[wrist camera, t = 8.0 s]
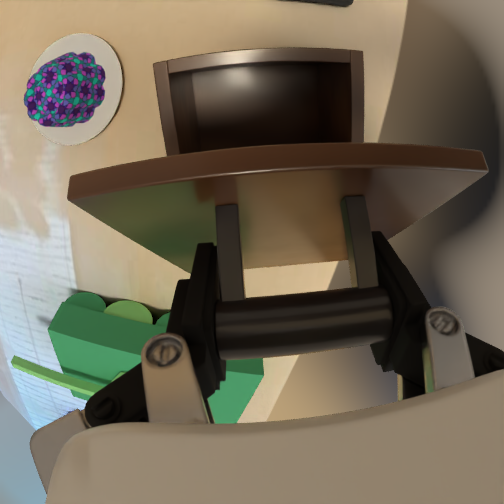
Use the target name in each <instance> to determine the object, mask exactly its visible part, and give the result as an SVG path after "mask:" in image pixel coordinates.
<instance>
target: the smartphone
mask: <svg viewBox="0 0 504 504" xmlns="http://www.w3.org/2000/svg"><path fill="white" fill-rule="evenodd" d="M293 1H304V2H313V3H321V4H329V5H335V6H342V7H346V6H349V5H351V4H352V3H353V0H293Z"/></svg>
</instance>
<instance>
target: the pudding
mask: <svg viewBox="0 0 504 504" xmlns="http://www.w3.org/2000/svg"><path fill="white" fill-rule="evenodd" d="M121 92H122V71H121V66H120V62H119V60H118V58H117V55H116V53H115V52H114V50H113V49H112V47H111V46H110V45H109V44H108V43H107V42H105V41H104V40H103V39H101V38H99V37H98V36H95V35H92V34H87V33H76V34H71V35H67V36H64V37H62V38H60V39H58V40H57V41H55V42H54V43H52V44H51V45H50V46H49V47H47V48H46V50H45V51H44V52H43V53H42V54H41V55H40V57H39V58H38V59H37V61H36V63H35V65H34V67H33V69H32V71H31V74H30V76H29V80H28V83H27V91H26V93H25V95H24V104H25V106H26V107H27V108H28V115H29V117H30V118H31V120H32V122H33V124H34V126H35V127H36V129H37V130H38V131H39V132H40V133H41V134H42V135H43V136H44V137H45V138H47V139H48V140H50V141H52V142H54V143H56V144H60V145H70V146H72V145H78V144H81V143H84V142H87V141H89V140H90V139H92V138H94V137H95V136H97V135H98V134H99V133H100V132H101V131H102V130H103V129H104V128H105V127H106V126H107V125H108V123H109V122H110V120H111V119H112V117H113V115H114V114H115V111H116V109H117V107H118V104H119V101H120V97H121Z"/></svg>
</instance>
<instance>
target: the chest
mask: <svg viewBox="0 0 504 504" xmlns="http://www.w3.org/2000/svg"><path fill="white" fill-rule="evenodd" d="M153 68H154V76H155V84H156V91H157V98H158V105H159V111H160V118H161V124H162V130H163V136H164V142H165V148H166V153H167V156H173V155H180V154H187V153H195V152H203V151H211V150H220V149H230V148H240V147H251V146H264V145H280V144H300V143H341V142H355V143H363V141H364V61H363V51H358V50H346V49H331V48H261V49H245V50H234V51H224V52H215V53H208V54H201V55H194V56H188V57H182V58H176V59H171V60H167V61H161V62H157V63H153Z"/></svg>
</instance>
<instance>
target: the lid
mask: <svg viewBox="0 0 504 504" xmlns="http://www.w3.org/2000/svg"><path fill="white" fill-rule="evenodd" d="M486 173H488V168H487V164H486V162H485V159H484V156H483V153H482V152H481V151H477V150H470V149H460V148H451V147H441V146H429V145H414V144H395V143H355V142H341V143H300V144H280V145H264V146H251V147H240V148H230V149H220V150H211V151H203V152H195V153H187V154H180V155H173V156H167V157H161V158H154V159H148V160H143V161H137V162H132V163H126V164H121V165H116V166H111V167H107V168H102V169H97V170H93V171H88V172H84V173H80V174H76V175H72V176H71V177H70V180H69V187H68V194H67V199H68V201H70V202H72V203H73V204H75V205H76V206H78V207H79V208H81V209H83V210H84V211H86V212H87V213H89V214H90V215H92V216H94V217H95V218H97V219H98V220H100V221H102V222H103V223H105V224H107V225H108V226H110V227H111V228H113V229H115V230H116V231H118V232H120V233H121V234H123V235H125V236H126V237H128V238H130V239H131V240H133V241H135V242H136V243H138V244H140V245H141V246H143V247H145V248H146V249H148V250H150V251H152V252H153V253H155V254H157V255H158V256H160V257H162V258H164V259H165V260H167V261H169V262H171V263H172V264H174V265H176V266H178V267H179V268H181V269H183V270H185V271H186V272H188V273H191V271H192V266H193V262H194V257H195V253H196V248H197V244H198V243H207V242H213V244H214V246H217V256H218V273H219V288H220V300H217V301H216V303H215V308H214V333H215V342H216V348H217V353H218V356H219V358H220V360H241V359H255V358H268V357H279V356H289V355H299V354H307V353H316V352H323V351H331V350H337V349H344V348H351V347H357V346H363V345H369V344H375V343H380V342H385V341H387V340H388V339H389V338H390V336H391V334H392V330H393V324H394V313H393V306H392V301H391V298H390V295H389V293H388V291H387V289H386V288H385V287H384V286H383V285H380V284H379V282H378V274H377V266H376V259H375V252H374V245H373V239H372V233H371V231H381V232H382V234H383V235H384V236H385V238H386V239H387V240H388V239H390V238H391V237H393V236H395V235H396V234H398V233H399V232H401V231H402V230H404V229H406V228H407V227H409V226H410V225H412V224H413V223H415V222H416V221H418V220H419V219H421V218H422V217H424V216H426V215H427V214H429V213H430V212H432V211H433V210H435V209H436V208H438V207H439V206H441V205H442V204H444V203H445V202H447V201H448V200H449V199H451V198H452V197H454V196H455V195H457V194H458V193H460V192H461V191H463V190H464V189H465V188H467V187H468V186H470V185H471V184H473V183H474V182H475V181H476V180H478V179H480V178H481V177H482V176H484V175H485V174H486ZM341 260H348V261H349V268H350V276H351V285H352V288H344V289H335V290H326V291H316V292H306V293H296V294H286V295H275V296H263V297H251V298H246V294H245V281H244V269H251V268H263V267H274V266H286V265H297V264H308V263H319V262H330V261H341Z"/></svg>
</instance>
